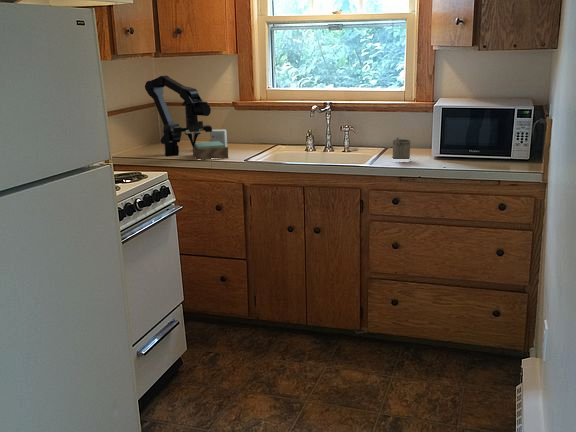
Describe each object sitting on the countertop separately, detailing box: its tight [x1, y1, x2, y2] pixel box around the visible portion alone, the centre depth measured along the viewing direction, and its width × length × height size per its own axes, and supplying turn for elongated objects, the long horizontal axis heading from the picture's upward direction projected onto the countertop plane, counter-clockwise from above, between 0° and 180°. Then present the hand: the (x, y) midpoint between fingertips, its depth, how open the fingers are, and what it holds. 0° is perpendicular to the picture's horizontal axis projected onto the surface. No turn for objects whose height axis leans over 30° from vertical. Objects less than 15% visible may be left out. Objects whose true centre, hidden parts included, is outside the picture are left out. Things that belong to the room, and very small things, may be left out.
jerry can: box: [391, 137, 412, 159], centre depth 294 cm, size 14×10×12 cm
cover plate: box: [195, 141, 224, 149], centre depth 313 cm, size 13×13×2 cm
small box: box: [209, 129, 228, 147], centre depth 333 cm, size 8×6×10 cm
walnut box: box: [192, 146, 229, 160], centre depth 314 cm, size 15×16×6 cm
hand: (193, 146), depth 311 cm, fingers closed
